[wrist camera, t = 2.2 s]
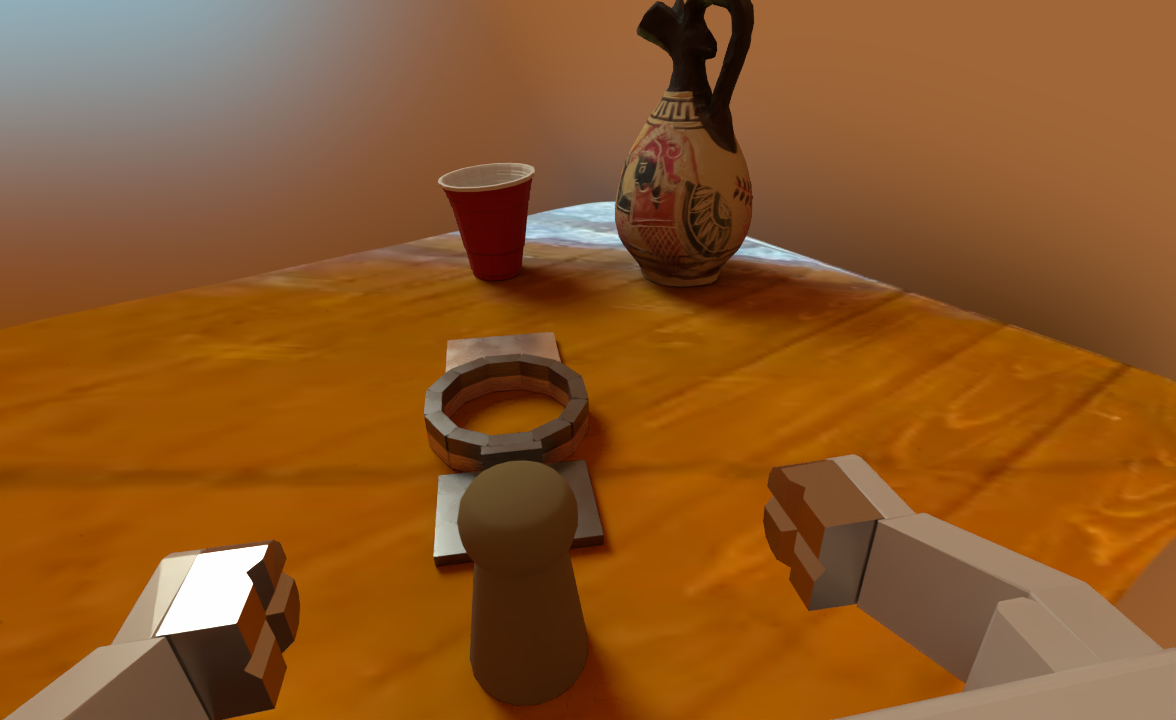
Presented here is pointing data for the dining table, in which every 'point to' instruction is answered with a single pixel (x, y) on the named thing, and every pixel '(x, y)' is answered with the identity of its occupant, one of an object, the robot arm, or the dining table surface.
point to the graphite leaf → (507, 445)
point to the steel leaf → (504, 387)
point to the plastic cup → (491, 215)
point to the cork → (523, 582)
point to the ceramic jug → (688, 154)
